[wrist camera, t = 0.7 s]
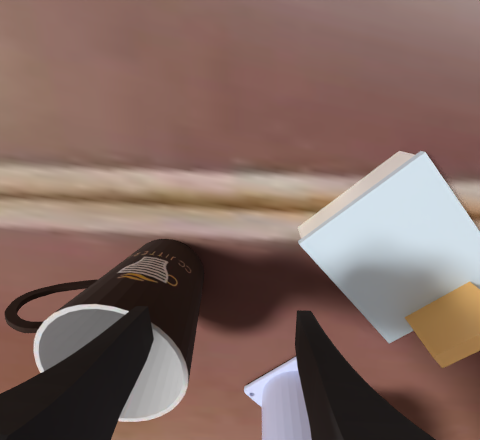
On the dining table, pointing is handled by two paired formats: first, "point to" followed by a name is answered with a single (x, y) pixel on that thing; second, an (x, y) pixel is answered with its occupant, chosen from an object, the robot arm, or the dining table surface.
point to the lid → (407, 260)
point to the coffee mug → (116, 306)
